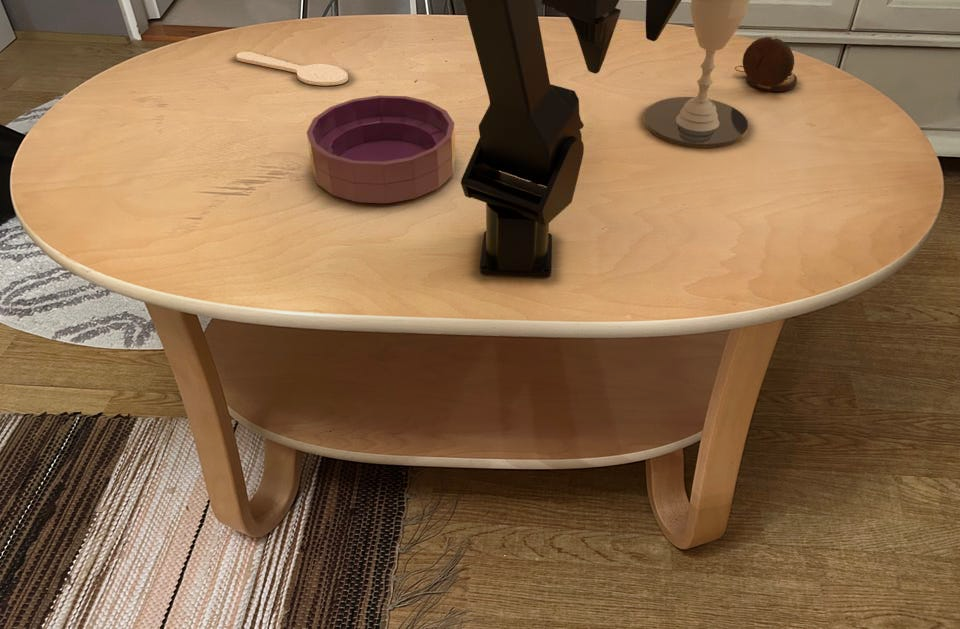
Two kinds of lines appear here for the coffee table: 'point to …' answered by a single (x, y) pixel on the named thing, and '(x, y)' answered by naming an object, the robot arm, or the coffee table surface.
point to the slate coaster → (665, 127)
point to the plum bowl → (382, 148)
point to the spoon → (299, 69)
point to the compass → (769, 64)
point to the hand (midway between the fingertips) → (623, 55)
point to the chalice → (710, 55)
